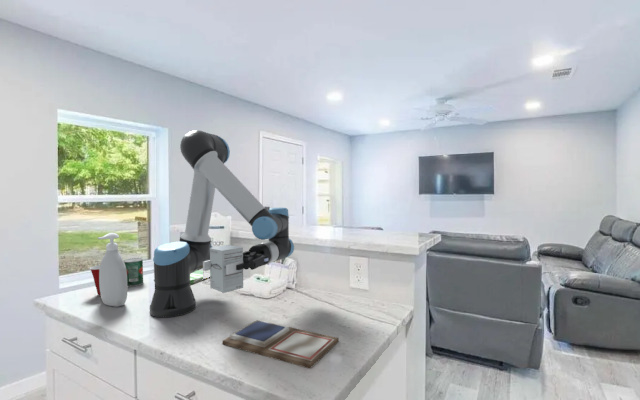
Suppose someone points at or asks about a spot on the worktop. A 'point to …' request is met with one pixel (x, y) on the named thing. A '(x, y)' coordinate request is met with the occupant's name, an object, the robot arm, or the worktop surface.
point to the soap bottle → (112, 274)
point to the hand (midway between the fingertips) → (215, 268)
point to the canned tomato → (134, 271)
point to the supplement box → (218, 268)
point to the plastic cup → (96, 277)
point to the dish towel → (195, 277)
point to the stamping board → (282, 343)
